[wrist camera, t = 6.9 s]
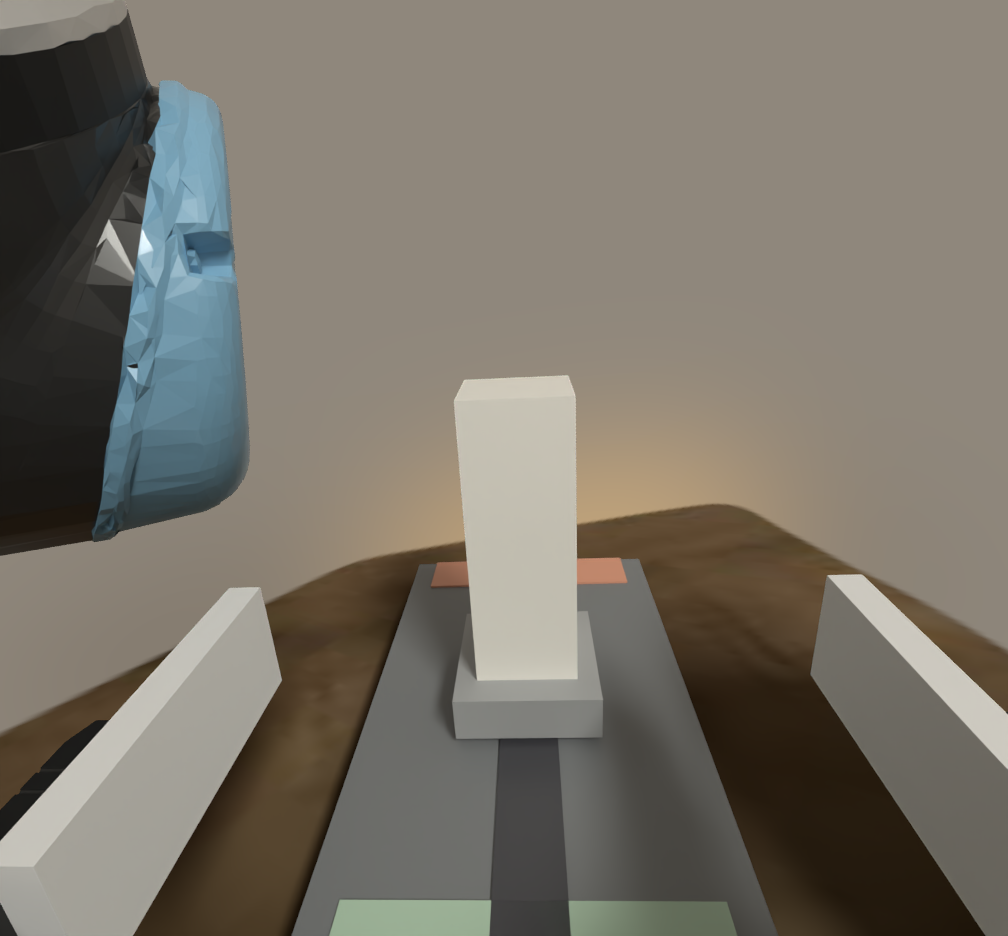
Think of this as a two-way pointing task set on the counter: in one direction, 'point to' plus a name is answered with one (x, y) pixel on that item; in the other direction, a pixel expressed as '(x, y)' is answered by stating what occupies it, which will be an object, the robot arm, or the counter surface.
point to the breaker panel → (534, 796)
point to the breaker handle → (522, 566)
